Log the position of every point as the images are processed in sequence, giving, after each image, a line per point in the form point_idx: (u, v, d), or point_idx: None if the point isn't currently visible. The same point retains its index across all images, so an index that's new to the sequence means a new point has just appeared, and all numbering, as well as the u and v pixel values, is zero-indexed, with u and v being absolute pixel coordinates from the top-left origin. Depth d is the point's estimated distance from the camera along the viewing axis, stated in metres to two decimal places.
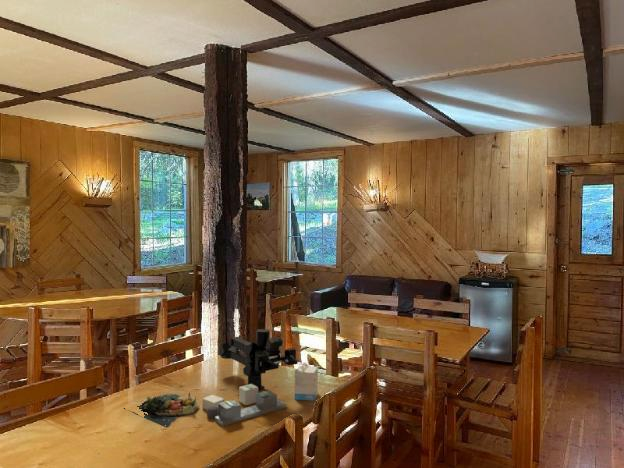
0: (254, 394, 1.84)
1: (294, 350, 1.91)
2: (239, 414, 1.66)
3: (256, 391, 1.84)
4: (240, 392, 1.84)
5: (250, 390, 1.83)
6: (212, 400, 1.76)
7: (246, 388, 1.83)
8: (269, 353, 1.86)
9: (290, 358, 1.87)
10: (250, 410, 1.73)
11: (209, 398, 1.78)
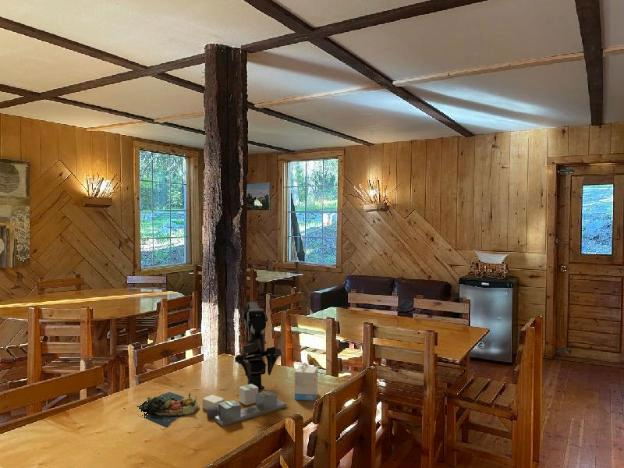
0: (254, 394, 1.84)
1: (273, 353, 1.79)
2: (239, 414, 1.66)
3: (256, 391, 1.84)
4: (240, 392, 1.84)
5: (250, 390, 1.83)
6: (212, 400, 1.76)
7: (246, 388, 1.83)
8: (249, 353, 1.84)
9: None
10: (250, 410, 1.73)
11: (209, 398, 1.78)
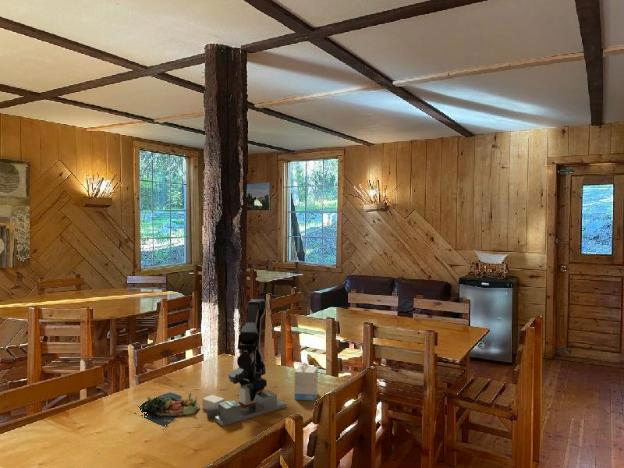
0: None
1: (254, 388, 1.76)
2: (239, 414, 1.66)
3: None
4: (240, 392, 1.84)
5: None
6: (212, 400, 1.76)
7: (246, 388, 1.83)
8: None
9: None
10: (250, 410, 1.73)
11: (209, 398, 1.78)
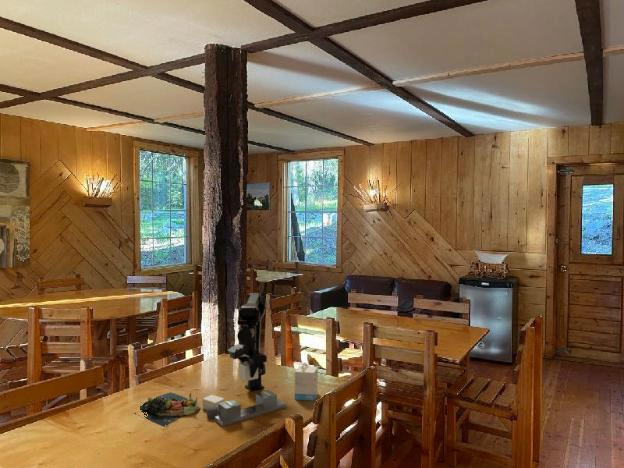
0: None
1: (254, 363, 1.75)
2: (239, 414, 1.66)
3: None
4: (240, 368, 1.82)
5: None
6: (212, 400, 1.76)
7: (246, 364, 1.82)
8: None
9: None
10: (250, 410, 1.73)
11: (209, 398, 1.78)
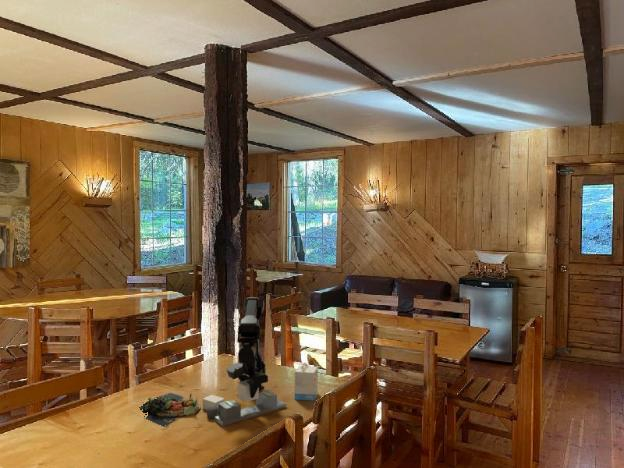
0: None
1: None
2: (239, 414, 1.66)
3: None
4: (239, 388, 1.71)
5: None
6: (212, 400, 1.76)
7: (246, 384, 1.71)
8: None
9: None
10: (250, 410, 1.73)
11: (209, 398, 1.78)
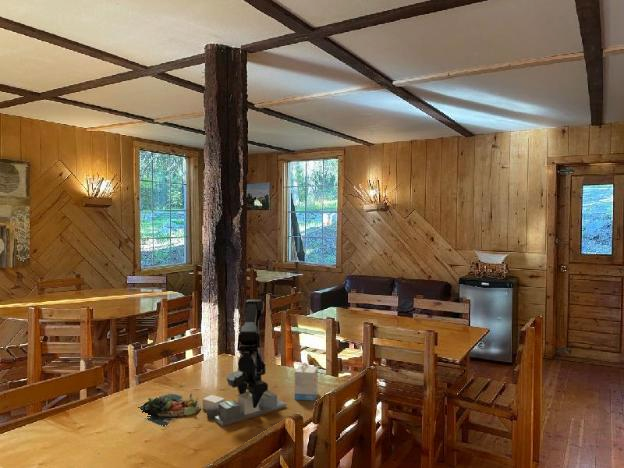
0: None
1: (254, 392, 1.64)
2: (239, 414, 1.66)
3: None
4: (239, 400, 1.71)
5: (250, 398, 1.70)
6: (213, 400, 1.76)
7: (246, 396, 1.71)
8: None
9: None
10: None
11: (209, 398, 1.78)
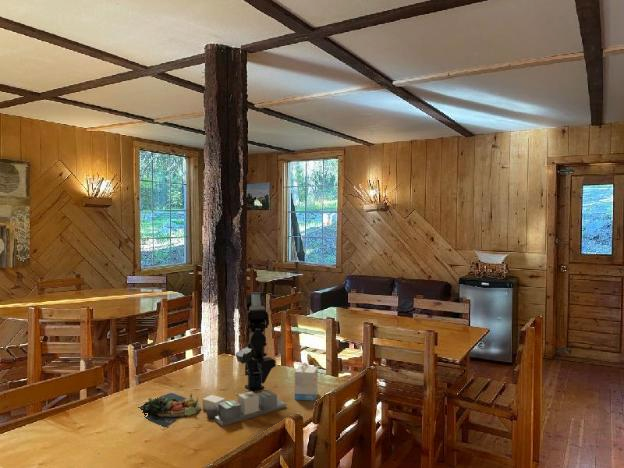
0: (254, 403, 1.71)
1: (262, 368, 1.69)
2: (239, 414, 1.66)
3: (256, 399, 1.72)
4: (239, 400, 1.71)
5: (250, 398, 1.70)
6: (213, 400, 1.76)
7: (246, 396, 1.71)
8: None
9: None
10: None
11: (209, 398, 1.78)
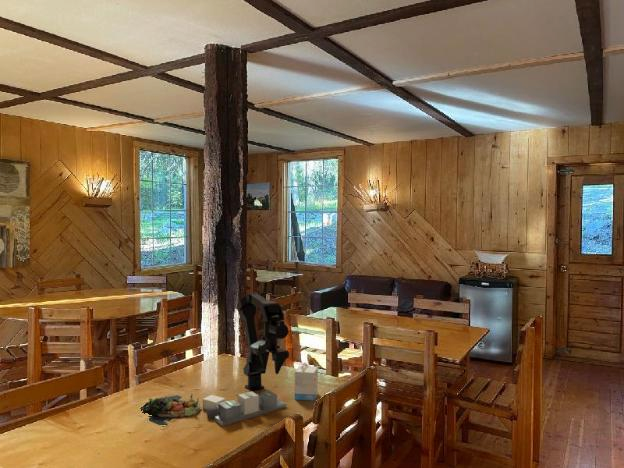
0: (254, 403, 1.71)
1: None
2: (239, 414, 1.66)
3: (256, 399, 1.72)
4: (239, 400, 1.71)
5: (250, 398, 1.70)
6: (213, 400, 1.76)
7: (246, 396, 1.71)
8: None
9: None
10: None
11: (209, 398, 1.78)
